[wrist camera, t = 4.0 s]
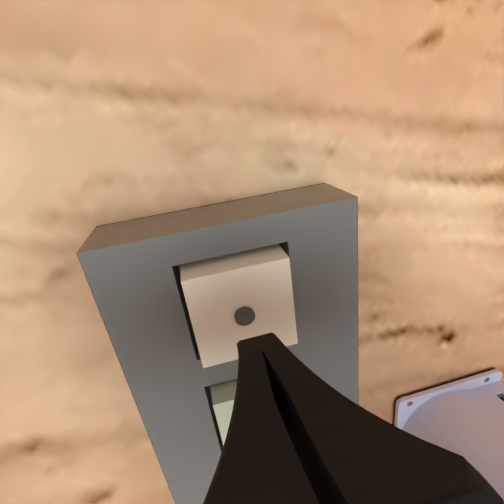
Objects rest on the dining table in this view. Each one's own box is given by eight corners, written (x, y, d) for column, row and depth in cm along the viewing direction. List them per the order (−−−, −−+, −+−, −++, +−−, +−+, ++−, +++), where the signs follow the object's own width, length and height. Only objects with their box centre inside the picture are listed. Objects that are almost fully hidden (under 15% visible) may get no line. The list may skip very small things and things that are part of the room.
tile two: (290, 356, 18) (302, 382, 16) (296, 414, 20) (308, 443, 18) (209, 378, 17) (213, 407, 16) (223, 435, 19) (228, 467, 18)
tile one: (277, 242, 15) (290, 258, 13) (286, 322, 17) (298, 345, 15) (179, 263, 15) (180, 283, 13) (200, 343, 16) (203, 370, 15)
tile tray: (325, 183, 18) (357, 196, 14) (336, 448, 26) (358, 493, 23) (96, 226, 16) (76, 253, 13) (191, 495, 25) (193, 550, 22)
